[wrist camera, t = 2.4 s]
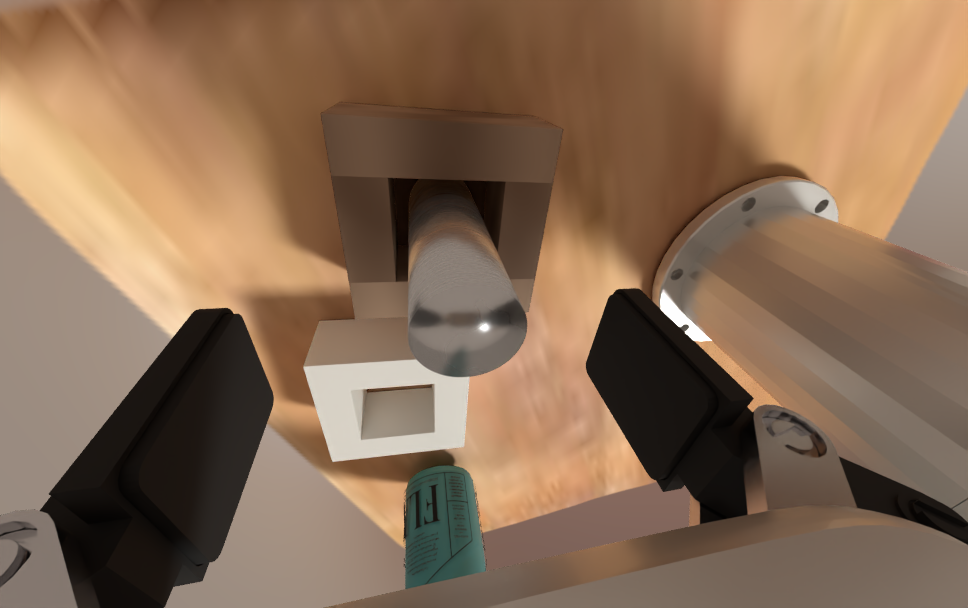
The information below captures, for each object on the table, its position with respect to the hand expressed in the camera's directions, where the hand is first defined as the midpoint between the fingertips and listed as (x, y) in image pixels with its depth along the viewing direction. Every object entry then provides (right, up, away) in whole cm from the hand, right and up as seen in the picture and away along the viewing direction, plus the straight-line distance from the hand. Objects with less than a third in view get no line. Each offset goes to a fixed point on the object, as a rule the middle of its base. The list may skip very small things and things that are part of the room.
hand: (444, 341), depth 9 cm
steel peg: (-1, +6, +9) cm, 11 cm away
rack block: (-5, -4, +16) cm, 17 cm away
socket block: (-1, +6, +9) cm, 11 cm away
